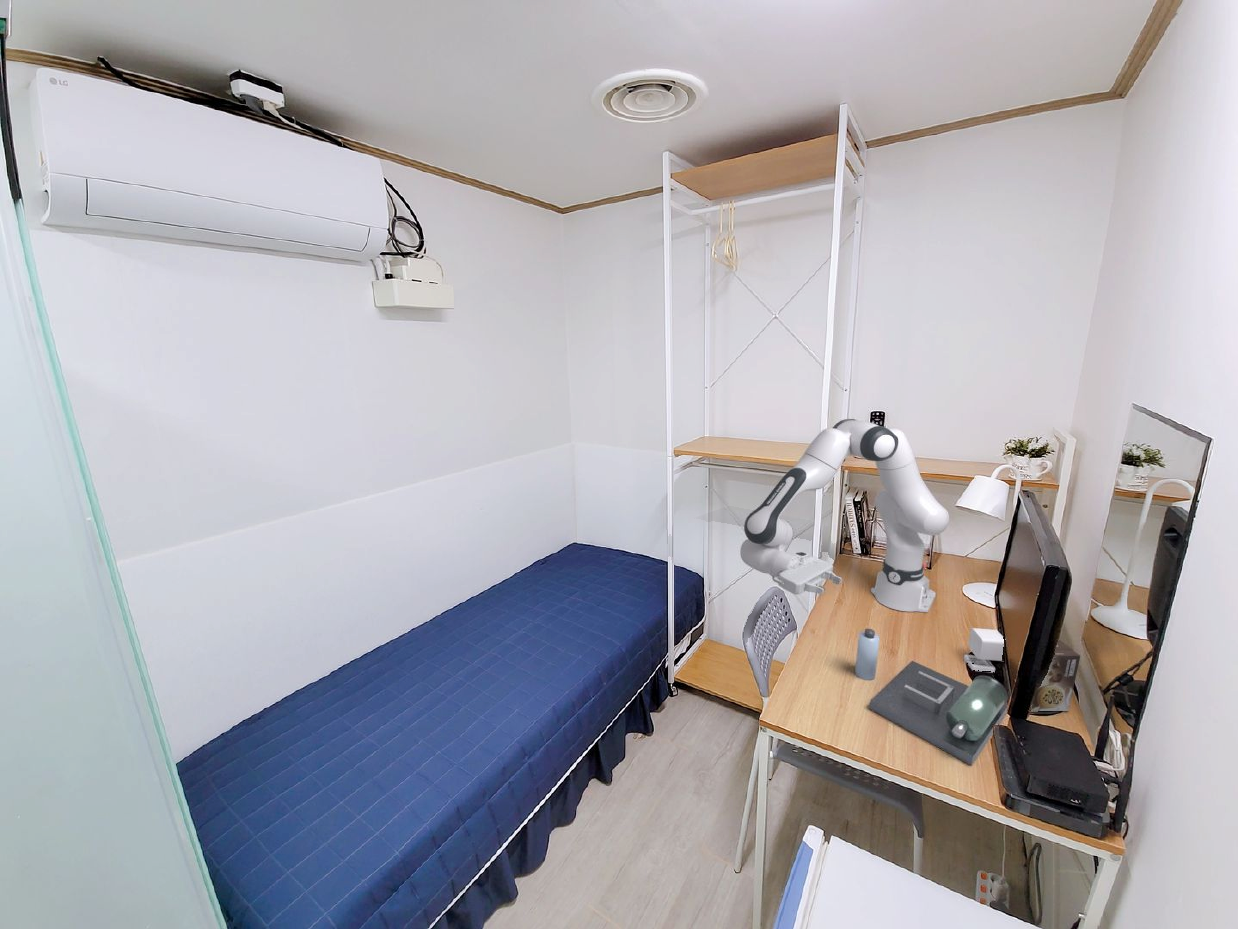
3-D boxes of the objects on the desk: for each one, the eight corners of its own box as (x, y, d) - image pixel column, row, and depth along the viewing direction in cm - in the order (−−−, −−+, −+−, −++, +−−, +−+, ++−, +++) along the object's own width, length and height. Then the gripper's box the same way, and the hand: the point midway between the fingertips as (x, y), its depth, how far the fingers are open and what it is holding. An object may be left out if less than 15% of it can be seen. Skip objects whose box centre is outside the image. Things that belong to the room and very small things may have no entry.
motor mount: (911, 668, 138) (915, 638, 135) (1007, 713, 121) (1014, 679, 118) (869, 709, 124) (873, 676, 121) (971, 766, 107) (978, 729, 104)
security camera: (1002, 674, 134) (1008, 642, 132) (973, 671, 136) (979, 639, 133) (990, 659, 140) (996, 628, 138) (962, 657, 142) (967, 626, 139)
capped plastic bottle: (860, 665, 139) (865, 623, 136) (878, 675, 136) (883, 631, 132) (851, 673, 137) (856, 630, 133) (869, 683, 133) (874, 639, 129)
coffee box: (1048, 694, 127) (1060, 639, 123) (1068, 713, 120) (1082, 655, 116) (1011, 694, 127) (1022, 639, 123) (1030, 712, 121) (1042, 655, 117)
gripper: (770, 568, 142) (814, 587, 132) (807, 550, 155) (850, 566, 145) (767, 587, 144) (811, 608, 134) (804, 568, 157) (847, 586, 147)
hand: (832, 586), depth 139 cm, fingers open, 8 cm apart
